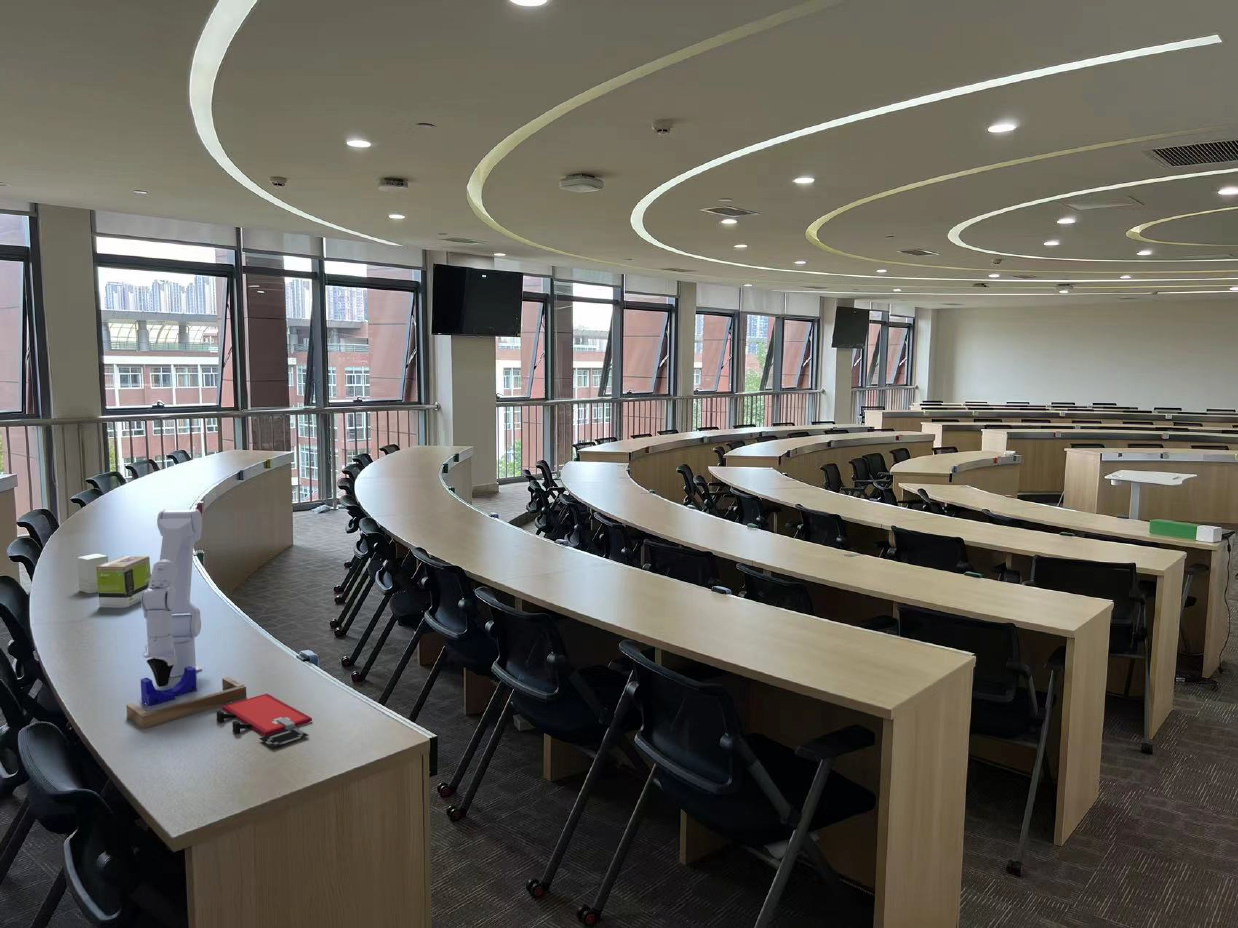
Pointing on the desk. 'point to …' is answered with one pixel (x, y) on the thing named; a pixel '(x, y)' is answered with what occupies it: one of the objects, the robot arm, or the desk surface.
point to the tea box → (123, 581)
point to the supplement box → (89, 571)
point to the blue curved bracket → (160, 696)
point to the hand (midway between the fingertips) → (162, 685)
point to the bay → (188, 705)
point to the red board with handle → (266, 719)
